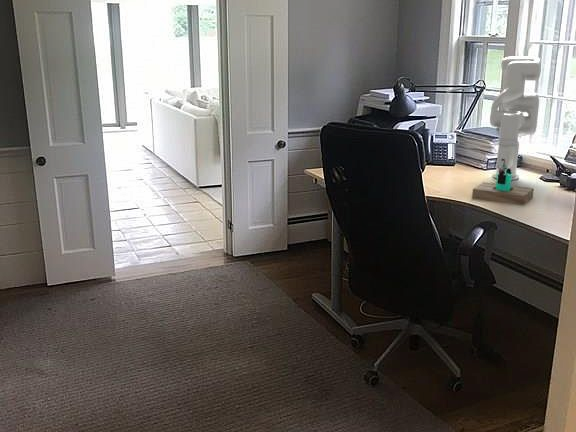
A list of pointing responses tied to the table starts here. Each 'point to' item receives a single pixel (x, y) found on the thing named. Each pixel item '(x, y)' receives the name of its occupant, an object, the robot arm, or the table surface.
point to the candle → (507, 184)
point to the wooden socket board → (503, 193)
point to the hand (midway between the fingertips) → (504, 181)
